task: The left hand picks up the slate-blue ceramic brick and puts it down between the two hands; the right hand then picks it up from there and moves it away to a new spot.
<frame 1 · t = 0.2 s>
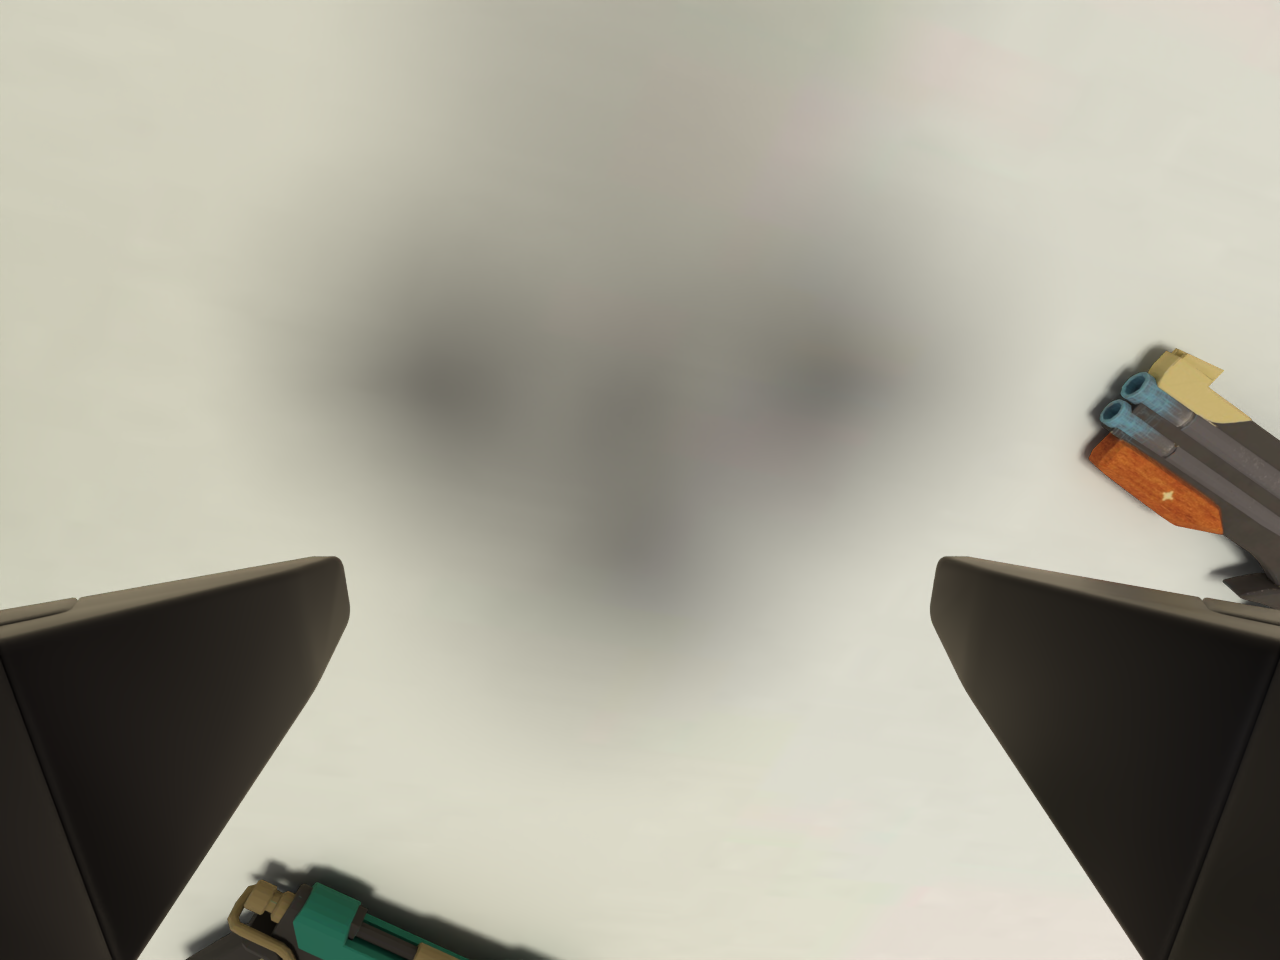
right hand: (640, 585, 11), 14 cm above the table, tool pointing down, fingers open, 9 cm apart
toy gun: (1239, 588, 27), on the table
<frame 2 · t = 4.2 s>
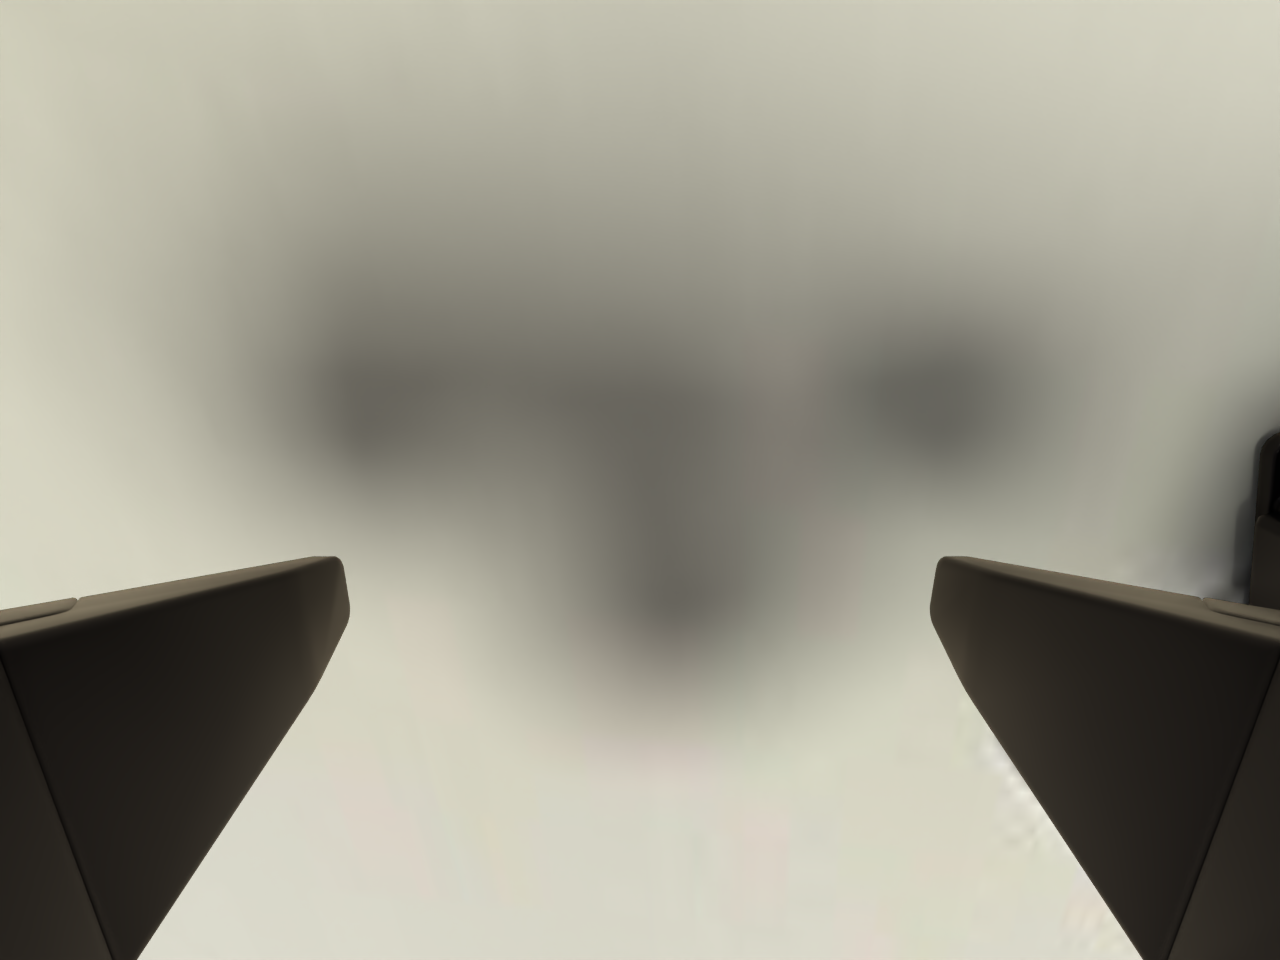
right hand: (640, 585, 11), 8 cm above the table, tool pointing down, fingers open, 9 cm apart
when the left hand's fingers open (2 cm above the table, at t = 11.8 s): brick stays where it is, on the table.
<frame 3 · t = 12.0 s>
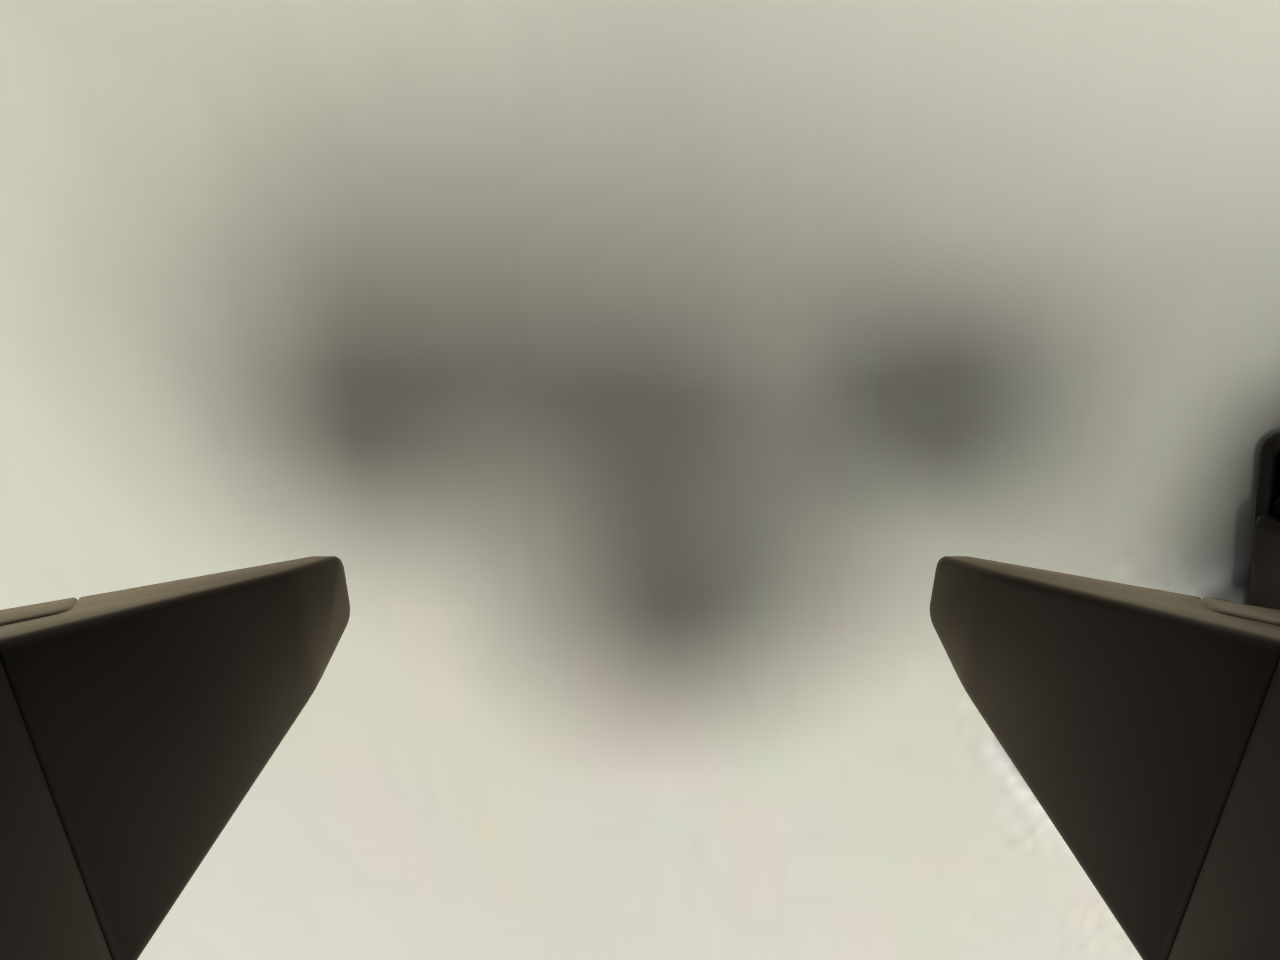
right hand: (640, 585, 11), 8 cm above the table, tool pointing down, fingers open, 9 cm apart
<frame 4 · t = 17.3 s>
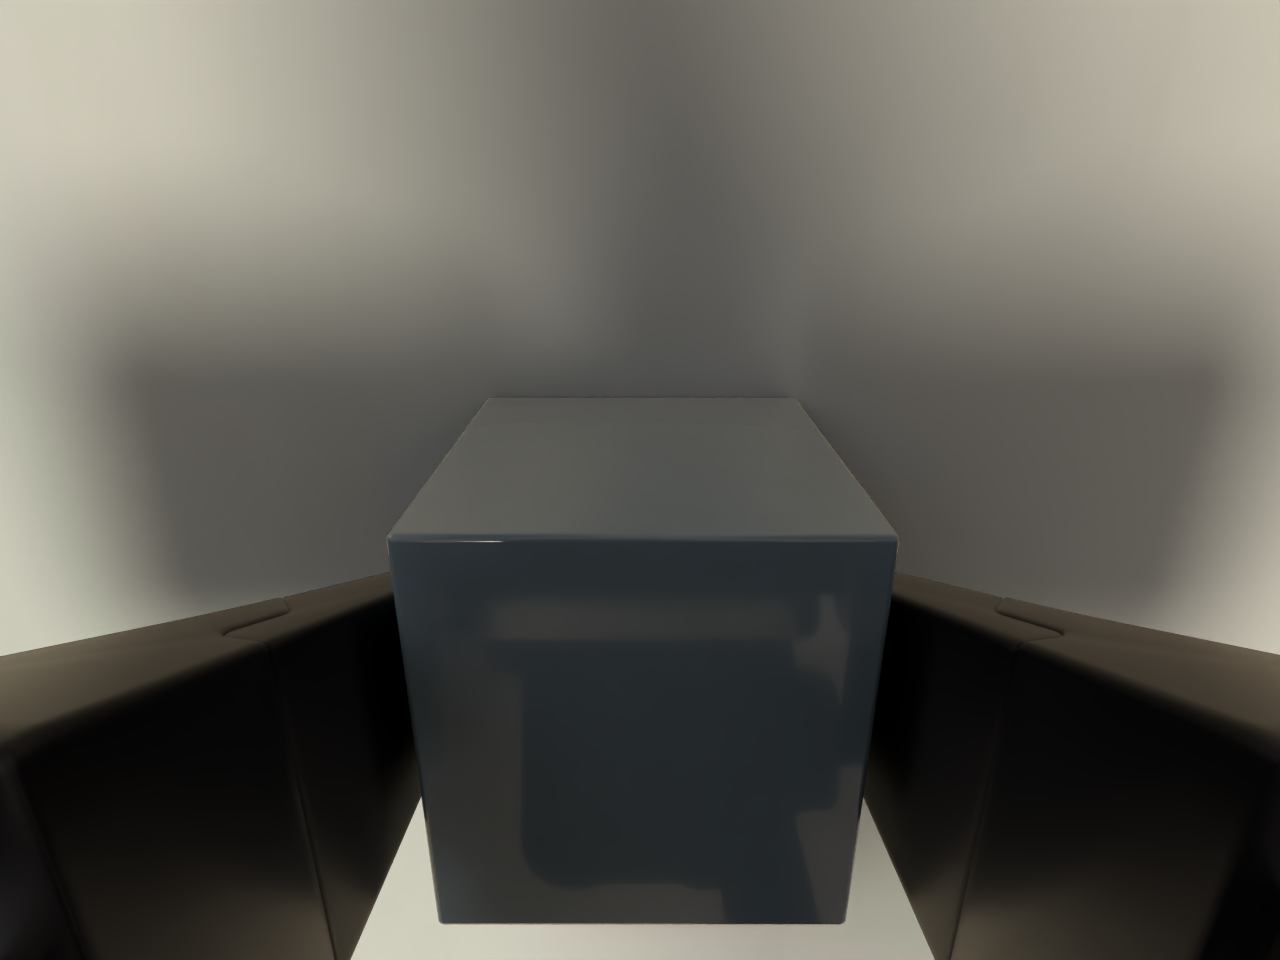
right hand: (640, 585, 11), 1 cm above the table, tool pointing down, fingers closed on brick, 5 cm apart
brick: (641, 543, 12), on the table, touching right hand
when the right hand's fingers open (2 cm above the table, at t = 21.3 s): brick stays where it is, on the table.
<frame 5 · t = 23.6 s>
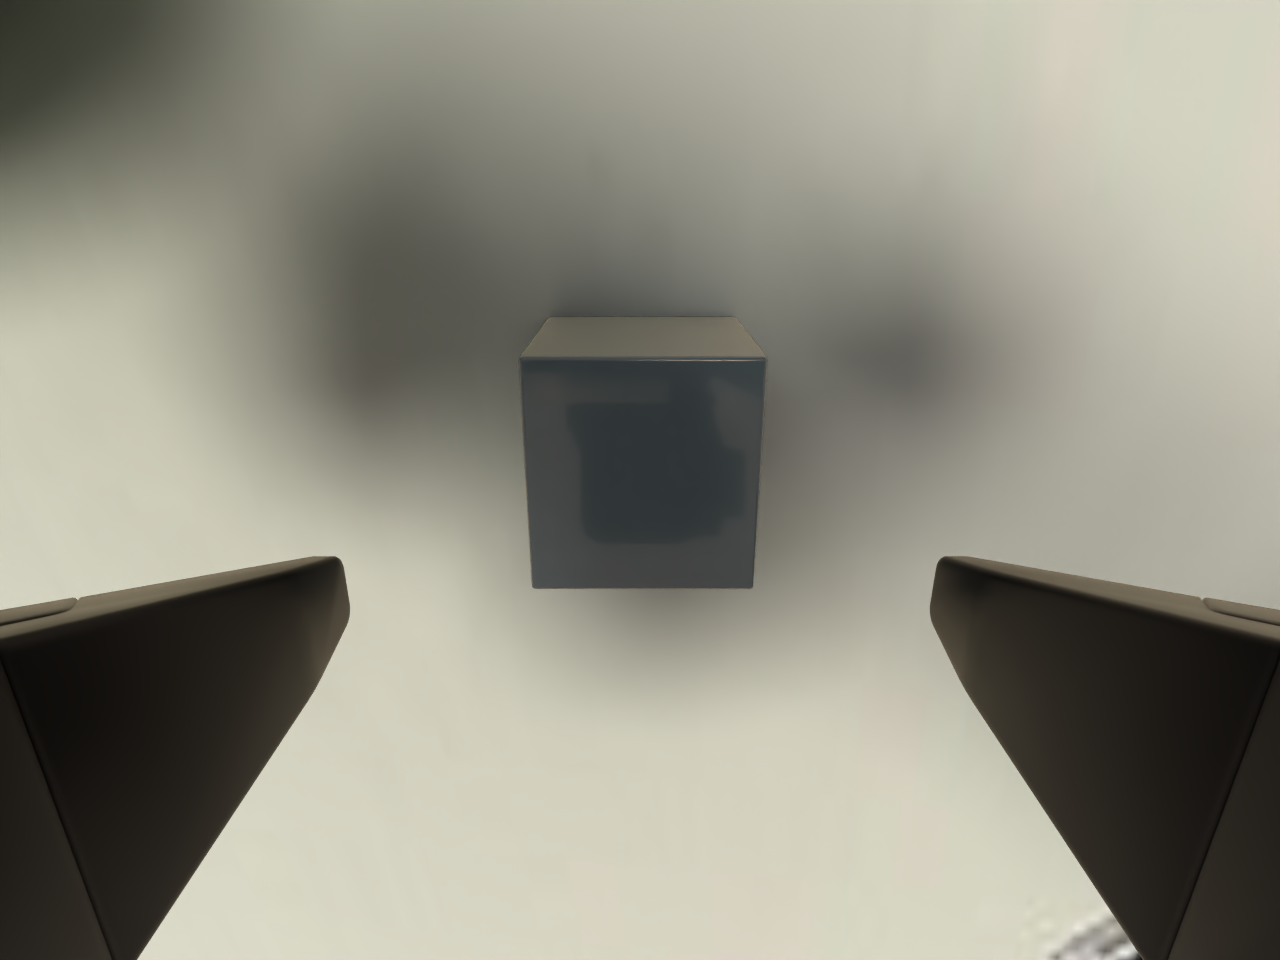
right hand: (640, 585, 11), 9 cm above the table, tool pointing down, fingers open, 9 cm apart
brick: (642, 412, 20), on the table
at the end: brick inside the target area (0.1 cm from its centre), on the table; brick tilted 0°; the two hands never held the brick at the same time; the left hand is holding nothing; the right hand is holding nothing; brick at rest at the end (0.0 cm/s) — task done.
